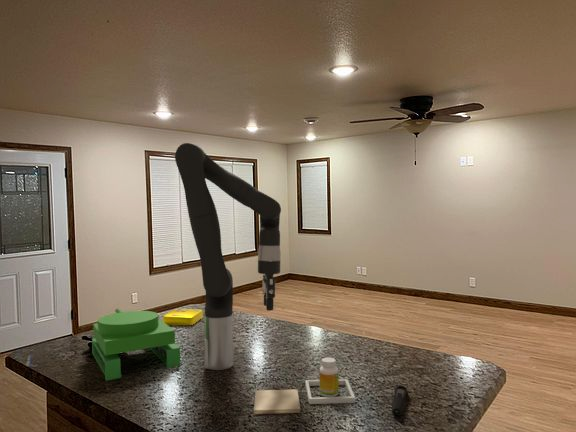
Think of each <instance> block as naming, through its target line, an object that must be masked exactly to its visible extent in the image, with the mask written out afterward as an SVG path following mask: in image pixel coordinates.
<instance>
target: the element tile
mask: <svg viewBox="0 0 576 432" xmlns="http://www.w3.org/2000/svg"><path fill="white" fill-rule="evenodd" d="M203 311H204V310H203V309H191V308H190V309H188V308H187V309H186V308H175V309H172V310H171V311H169V312H166V314H163V315H162V321H163V322H164V323H165V324H167V325H168V326H178V325H192V326H194V325H196V324H197V323H199V322H200V321H201V320H202V319H201V318H204V314H203V313H204V312H203ZM200 319H201V320H200ZM199 320H200V321H199ZM198 321H199V322H198ZM196 322H197V323H196ZM195 323H196V324H195ZM193 324H194V325H193Z"/></svg>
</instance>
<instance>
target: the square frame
mask: <svg viewBox="0 0 576 432" xmlns="http://www.w3.org/2000/svg"><path fill="white" fill-rule="evenodd" d="M304 382H305V383H304V385H305V389H306V395H307V400H308V405H318V404H319V405H321V404H322V405H324V404H325V405H327V404H355V403H356V395H355V394H354V392H353V389H352V387H351V385H350V383H349V380H348V378H345V379H344V378H341V379H339V386H345V389H346V391H347V393H348V396H335V397H325V396H321V397H320V396H319V397H317V396H316V397H312V393H311V388H310V387H316V386H317V387H318V386H319V387H320V379H308V380H307V379H305V381H304Z"/></svg>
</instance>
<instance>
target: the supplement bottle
mask: <svg viewBox="0 0 576 432" xmlns="http://www.w3.org/2000/svg"><path fill="white" fill-rule="evenodd" d="M319 380H320V386H319V394H320V395H321V397H338V395H339V391H340V390H339V386H340V385H339V368H338V366H337V360H336V358H333V357H324V358H322V359H321V366H320V367H319Z"/></svg>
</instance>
